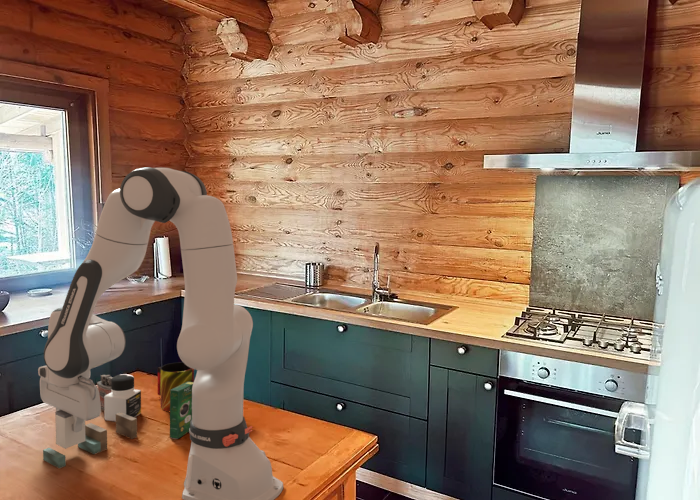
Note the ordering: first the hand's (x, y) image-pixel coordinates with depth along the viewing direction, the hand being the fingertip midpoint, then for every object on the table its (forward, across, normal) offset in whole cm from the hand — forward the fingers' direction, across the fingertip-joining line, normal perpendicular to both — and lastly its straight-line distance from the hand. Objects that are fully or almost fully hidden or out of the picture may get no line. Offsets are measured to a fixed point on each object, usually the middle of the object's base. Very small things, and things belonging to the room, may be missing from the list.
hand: (70, 428), depth 129 cm
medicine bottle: (+7, +11, -21) cm, 25 cm away
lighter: (+7, +20, -22) cm, 31 cm away
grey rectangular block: (+4, 0, 0) cm, 4 cm away
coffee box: (+7, -11, -24) cm, 28 cm away
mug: (+7, +7, -35) cm, 37 cm away
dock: (+7, 0, -5) cm, 9 cm away
